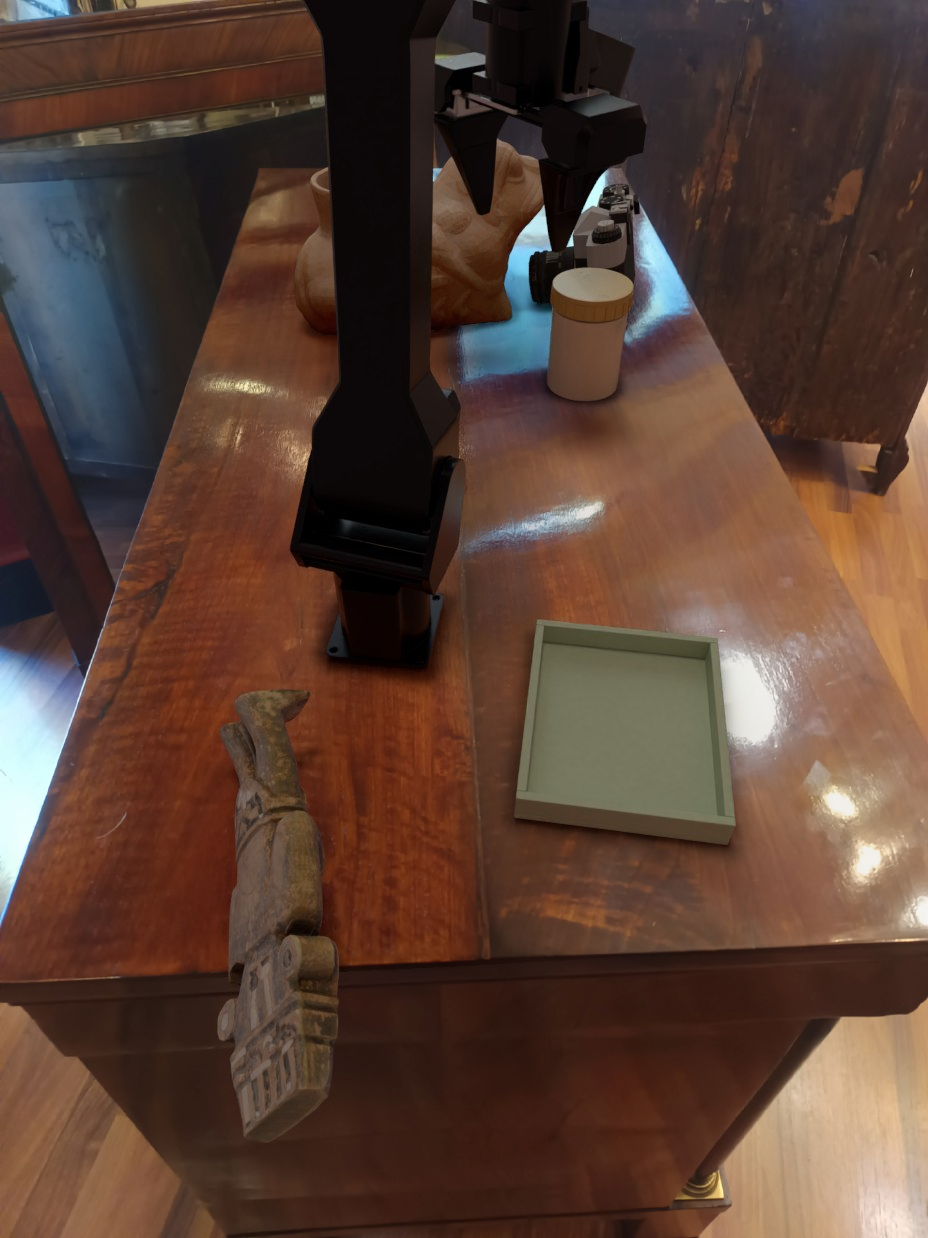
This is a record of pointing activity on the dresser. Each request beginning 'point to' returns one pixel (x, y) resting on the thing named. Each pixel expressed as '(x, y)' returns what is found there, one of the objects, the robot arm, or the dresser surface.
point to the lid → (592, 294)
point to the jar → (584, 357)
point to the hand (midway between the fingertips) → (519, 231)
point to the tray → (626, 733)
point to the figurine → (276, 928)
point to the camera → (592, 243)
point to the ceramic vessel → (440, 246)
